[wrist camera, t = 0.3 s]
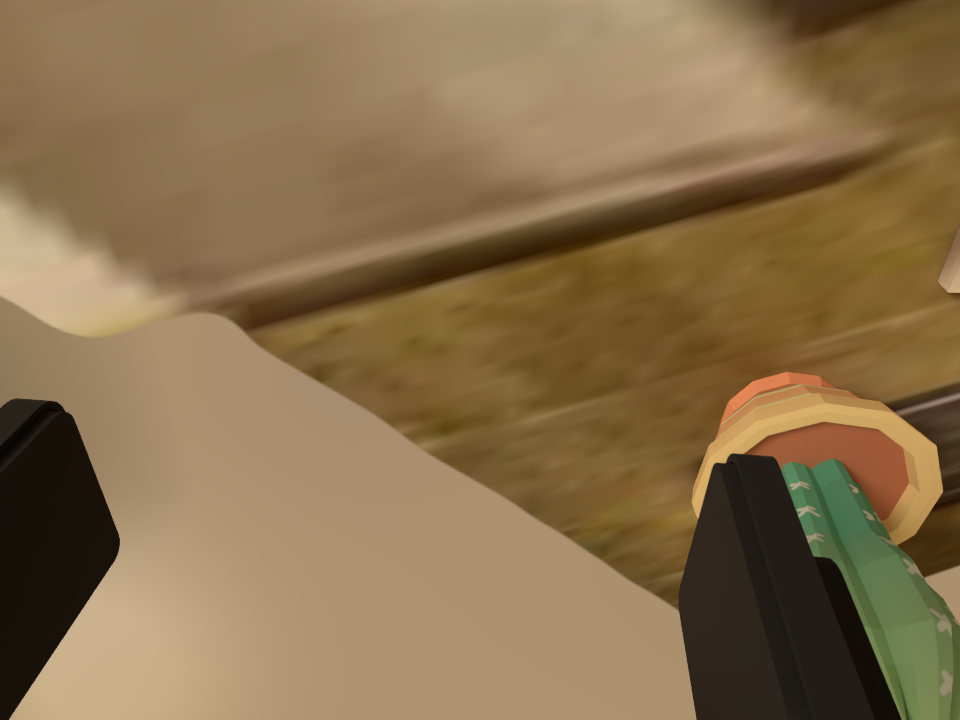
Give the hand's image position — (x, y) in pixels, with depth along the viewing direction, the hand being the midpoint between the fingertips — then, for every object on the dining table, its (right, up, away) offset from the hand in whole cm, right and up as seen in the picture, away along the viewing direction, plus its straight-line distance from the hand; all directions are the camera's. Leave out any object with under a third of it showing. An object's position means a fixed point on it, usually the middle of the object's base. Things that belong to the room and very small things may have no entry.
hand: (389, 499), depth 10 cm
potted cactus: (+24, -2, +42) cm, 49 cm away
